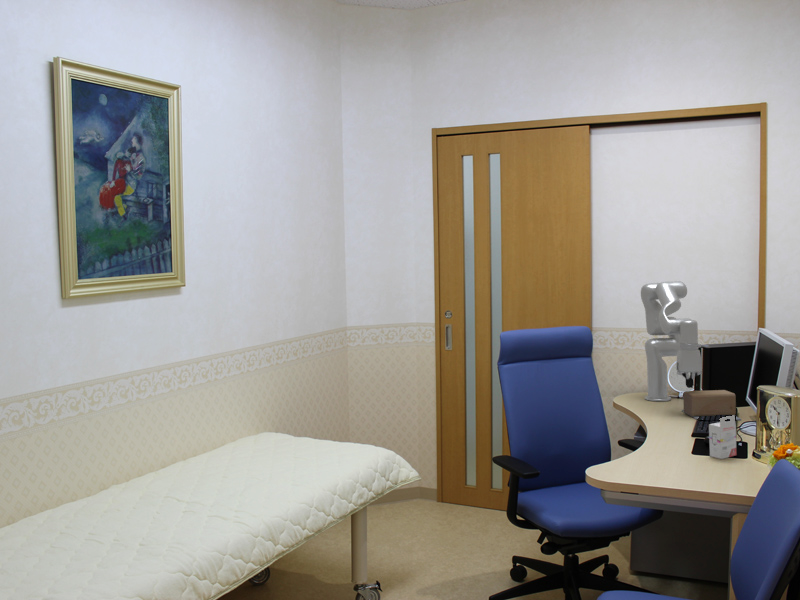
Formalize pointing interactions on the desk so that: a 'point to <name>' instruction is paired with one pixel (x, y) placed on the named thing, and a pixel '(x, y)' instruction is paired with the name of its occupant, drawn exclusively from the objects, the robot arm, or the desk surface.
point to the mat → (698, 416)
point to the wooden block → (709, 403)
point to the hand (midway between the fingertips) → (689, 387)
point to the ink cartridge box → (723, 438)
